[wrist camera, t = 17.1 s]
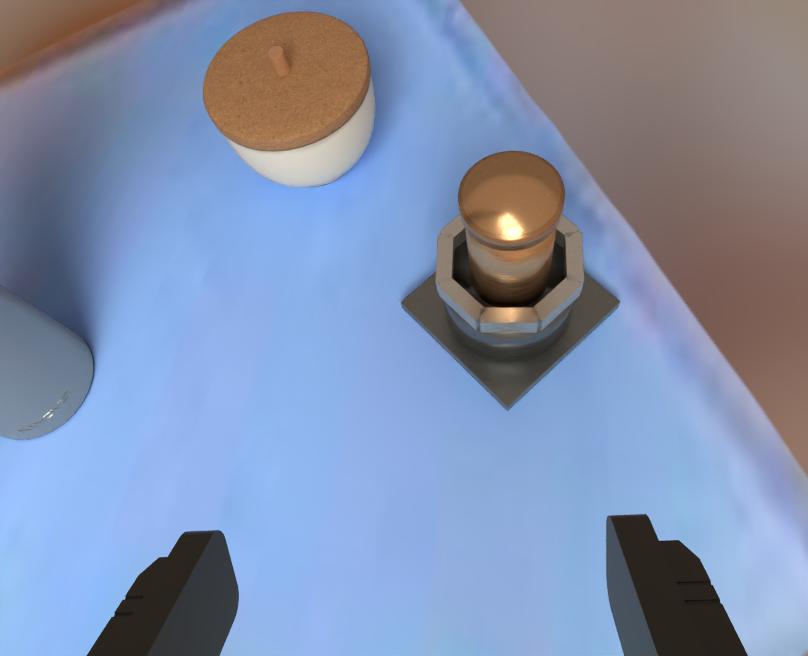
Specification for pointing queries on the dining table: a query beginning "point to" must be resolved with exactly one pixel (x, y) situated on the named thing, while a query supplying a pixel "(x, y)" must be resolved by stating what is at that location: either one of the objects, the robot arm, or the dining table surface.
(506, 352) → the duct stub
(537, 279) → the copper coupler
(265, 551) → the dining table surface
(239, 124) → the lidded bowl
